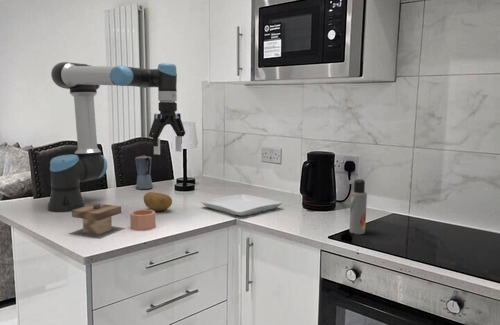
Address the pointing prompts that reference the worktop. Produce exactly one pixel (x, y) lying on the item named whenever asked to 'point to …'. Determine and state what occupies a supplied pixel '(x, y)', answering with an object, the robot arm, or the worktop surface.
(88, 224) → the pedestal
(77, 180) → the robot arm
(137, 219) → the bowl
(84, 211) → the lid
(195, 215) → the worktop surface
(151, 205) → the potato
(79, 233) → the mat
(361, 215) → the lotion bottle
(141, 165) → the moka pot
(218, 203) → the square plate
